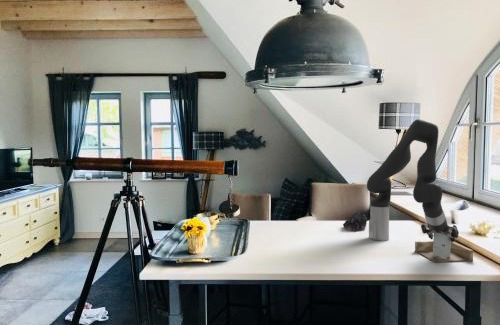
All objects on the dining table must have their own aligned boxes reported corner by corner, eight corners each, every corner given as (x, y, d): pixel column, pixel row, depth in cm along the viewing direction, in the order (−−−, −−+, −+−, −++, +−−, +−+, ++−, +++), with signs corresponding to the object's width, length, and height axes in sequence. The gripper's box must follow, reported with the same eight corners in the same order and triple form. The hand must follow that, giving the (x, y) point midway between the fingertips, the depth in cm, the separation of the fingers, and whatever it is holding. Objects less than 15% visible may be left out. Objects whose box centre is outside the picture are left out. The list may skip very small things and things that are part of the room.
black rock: (339, 231, 232) (340, 214, 230) (346, 224, 244) (347, 208, 242) (362, 235, 226) (363, 218, 224) (368, 228, 237) (369, 212, 236)
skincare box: (432, 254, 180) (432, 227, 180) (438, 253, 182) (439, 226, 182) (444, 258, 175) (445, 230, 174) (451, 256, 177) (452, 229, 176)
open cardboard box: (435, 262, 171) (435, 252, 171) (414, 251, 188) (415, 241, 188) (472, 261, 173) (473, 250, 173) (449, 249, 190) (449, 240, 190)
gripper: (455, 212, 167) (461, 234, 176) (419, 208, 176) (427, 229, 185) (452, 227, 163) (458, 249, 173) (415, 222, 172) (423, 243, 182)
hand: (442, 239), depth 179 cm, fingers open, 8 cm apart
